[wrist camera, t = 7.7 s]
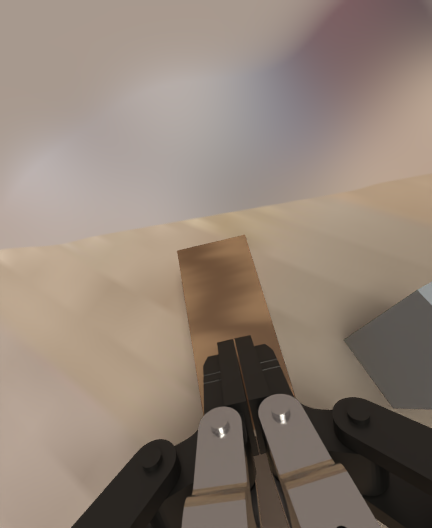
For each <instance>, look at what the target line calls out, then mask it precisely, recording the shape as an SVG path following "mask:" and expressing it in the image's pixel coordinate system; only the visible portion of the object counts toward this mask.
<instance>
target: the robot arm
mask: <svg viewBox="0 0 432 528" xmlns="http://www.w3.org/2000/svg"><path fill="white" fill-rule="evenodd" d="M234 339H235V343H236V347H237V352H238V356H239V361H240V365H241V370H242V374H243V378H244V383H245V387H246V392H247V396H248V400H249V405H250V409H251V413H252V418H253V422H254V427H255V431H256V435H257V440H258V444H259V448H260V453H261V454H264V453H267V457H268V461H269V465H270V469H271V473H272V478H273V481H274V484H275V487H276V491H277V494H278V497H279V500H280V503H281V506H282V509H283V512H284V515H285V518H286V521H287V525H288V528H381V527H380V526H379V524H378V522H377V521H376V519H377V520H379V521H380V522H381V523H383V524H384V525H386V526H387V527H388V528H432V428H429V427H427V426H425V425H422V424H420V423H418V422H416V421H413V420H411V419H409V418H407V417H404V416H402V415H400V414H397V413H395V412H393V411H391V410H388V409H386V408H384V407H381V406H379V405H377V404H375V403H372V402H370V401H368V400H365V399H362V398H356V397H350V398H344V399H342V400H340V401H338V402H337V403H336V404H335V405H334V407H333V410H320V409H313V408H309V407H307V406H305V405H303V404H301V403H300V402H299V401H298V400H297V399H296V398H295V397H294V396H293V394H292V391H291V389H290V387H289V385H288V382H287V380H286V378H285V376H284V373H283V371H282V369H281V367H280V364H279V362H278V360H277V358H276V355H275V353H274V351H273V349H271V348H270V347H269V346H267V345H266V344H261V345H257V346H254V344H253V341H252V338H251V335H247V336H243V337H239V338H234ZM217 347H218V355H213V356H209V357H207V359H206V361H205V363H204V365H203V376H204V377H203V383H204V385H203V386H204V416H203V418H202V419H201V421H200V423H199V428H198V430H197V432H196V433H195V434H194V435H192V436H191V437H190V438H188V439H187V440H185V441H183V442H181V443H179V444H178V445H176V446H174V445H173V444H172V443H171V442H169V441H167V440H164V439H159V440H154V441H151V442H149V443H147V444H146V445H144V446H143V447H142V448H141V449H140V450H139V451H138V452H137V453H136V454H135V455H134V456H133V457H132V459H131V460H130V461H129V462H128V463H127V464H126V465H125V467H124V468H123V469H122V470H121V471H120V472H119V473H118V475H117V476H116V477H115V478H114V479H113V480H112V481H111V483H110V484H109V485H108V486H107V487H106V488H105V490H104V491H103V492H102V493H101V494H100V495H99V496H98V498H97V499H96V500H95V501H94V502H93V503H92V504H91V506H90V507H89V508H88V509H87V510H86V511H85V512H84V514H83V515H82V516H81V517H80V518H79V519H78V520H77V522H76V523H75V524H74V525H73V526H72V527H71V528H262V521H261V513H260V505H259V497H258V488H257V481H256V468H255V463H254V458H253V456H256V455H259V453H258V448H257V444H256V439H255V434H254V430H253V425H252V421H251V416H250V412H249V407H248V403H247V398H246V393H245V389H244V384H243V380H242V375H241V371H240V367H239V362H238V358H237V354H236V349H235V345H234V341H233V339H230V340H226V341H221V342H217ZM375 518H376V519H375Z"/></svg>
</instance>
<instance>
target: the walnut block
mask: <svg viewBox="0 0 432 528" xmlns="http://www.w3.org/2000/svg"><path fill="white" fill-rule="evenodd" d="M177 253H178V259H179V265H180V271H181V278H182V284H183V290H184V297H185V303H186V309H187V315H188V322H189V328H190V334H191V341H192V347H193V353H194V359H195V366H196V372H197V378H198V384H199V391H200V397H201V403H202V410H203V416H204V386H203V385H204V383H203V377H204V376H203V365H204V363H205V361H206V359H207V357H209V356H213V355H218V347H217V342H221V341H226V340H230V339H233V341H234V345H235V349H236V354H237V358H238V362H239V367H240V371H241V375H242V380H243V384H244V389H245V393H246V398H247V403H248V407H249V412H250V416H251V421H252V425H253V430H254V434H255V437H256V436H257V435H256V431H255V427H254V422H253V418H252V413H251V409H250V405H249V400H248V396H247V392H246V387H245V383H244V378H243V374H242V370H241V365H240V361H239V356H238V352H237V347H236V343H235V339H234V338H239V337H243V336H247V335H251V338H252V341H253V344H254V346H257V345H261V344H266V345H267V346H269V347H270V348H271V349H273V351H274V353H275V355H276V358H277V360H278V362H279V364H280V367H281V369H282V371H283V373H284V376H285V378H286V380H287V382H288V385H289V387H290V389H291V391H292V394H293V396H294V397H295V395H294V391H293V388H292V385H291V382H290V379H289V375H288V372H287V369H286V366H285V362H284V359H283V356H282V353H281V350H280V346H279V343H278V340H277V337H276V333H275V330H274V327H273V324H272V320H271V317H270V314H269V311H268V308H267V304H266V301H265V298H264V295H263V291H262V288H261V285H260V282H259V279H258V275H257V272H256V269H255V266H254V262H253V259H252V256H251V253H250V250H249V246H248V243H247V240H246V237H245V235H242V236H238V237H233V238H229V239H225V240H221V241H217V242H212V243H208V244H204V245H200V246H195V247H191V248H187V249H183V250H178V251H177Z"/></svg>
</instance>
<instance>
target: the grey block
mask: <svg viewBox="0 0 432 528" xmlns="http://www.w3.org/2000/svg"><path fill="white" fill-rule="evenodd" d="M344 341H345V342H346V344H347V345H348V347H349V348H350V349H351V351H352V352H353V353H354V355H355V356H356V358H357V359H358V360H359V362H360V363H361V364H362V366H363V367H364V369H365V370H366V371H367V373H368V374H369V375H370V377H371V378H372V380H373V381H374V382H375V384H376V385H377V386H378V388H379V389H380V391H381V392H382V393H383V395H384V396H385V397H386V399H387V400H388V402H389V403H390V404H391V406H392V407H393V408H403V409H432V282H430V283H429V284H427V285H425V286H423V287H421V288H420V289H418V290H416V291H415V292H413V293H412V294H410V295H409V296H407V297H406V298H405V299H403V300H402V301H400V302H399V303H397V304H396V305H394V306H393V307H391V308H390V309H388V310H387V311H385V312H384V313H382V314H381V315H380V316H378V317H377V318H375V319H374V320H372V321H371V322H369V323H368V324H366V325H365V326H363V327H362V328H360V329H359V330H357V331H356V332H355V333H353V334H352V335H350V336H349V337H347V338H346V339H344Z"/></svg>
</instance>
